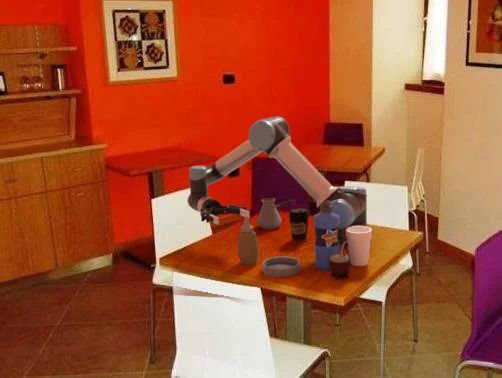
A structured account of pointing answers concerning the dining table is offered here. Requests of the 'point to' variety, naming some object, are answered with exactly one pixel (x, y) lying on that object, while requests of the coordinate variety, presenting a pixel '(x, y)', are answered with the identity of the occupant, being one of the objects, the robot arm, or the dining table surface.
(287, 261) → the dish
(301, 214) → the coffee cup
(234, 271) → the dining table surface
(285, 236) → the dining table surface
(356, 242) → the foam cup
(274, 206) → the coffee pot
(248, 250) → the squeeze bottle
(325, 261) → the water bottle
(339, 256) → the mate gourd
